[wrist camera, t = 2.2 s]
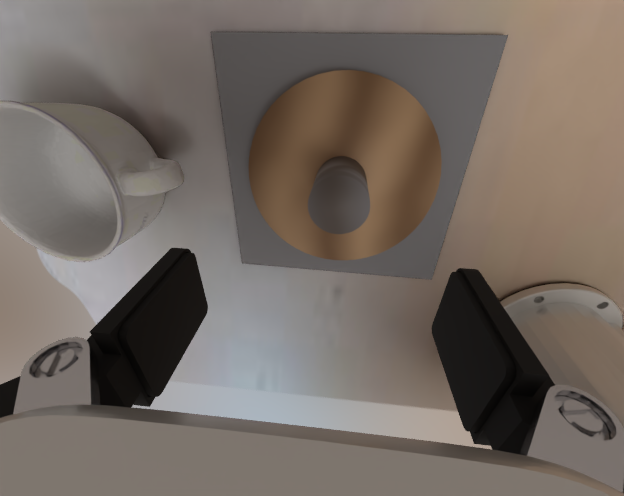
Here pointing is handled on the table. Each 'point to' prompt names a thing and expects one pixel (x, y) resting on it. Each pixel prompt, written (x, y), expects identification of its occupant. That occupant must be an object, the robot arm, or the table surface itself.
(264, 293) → the table surface
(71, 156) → the teacup
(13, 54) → the table surface
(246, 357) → the table surface
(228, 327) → the table surface
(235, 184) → the mat
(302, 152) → the lid
